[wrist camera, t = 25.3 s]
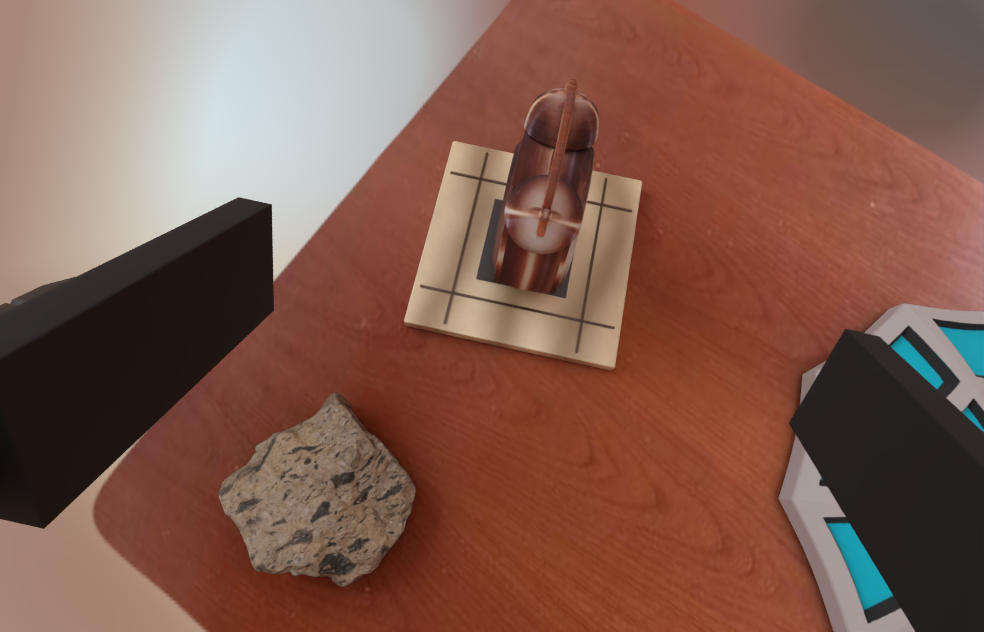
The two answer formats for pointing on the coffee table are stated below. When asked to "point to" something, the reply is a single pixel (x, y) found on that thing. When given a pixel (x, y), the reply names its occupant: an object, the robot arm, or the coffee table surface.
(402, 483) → the rock
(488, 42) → the coffee table surface
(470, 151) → the game board
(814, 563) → the decorative platform
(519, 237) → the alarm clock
